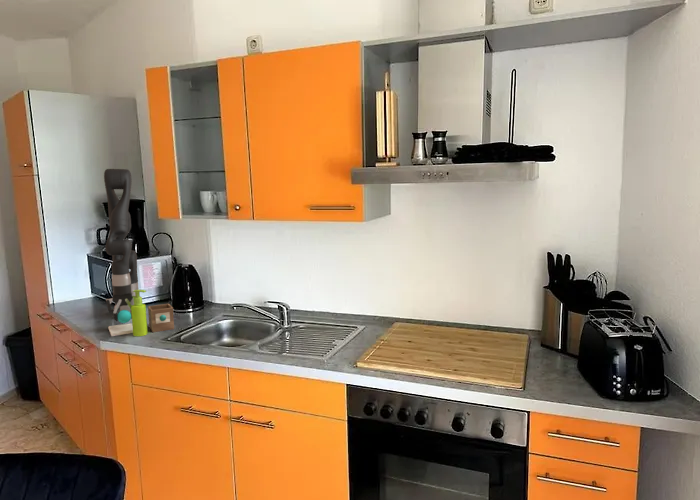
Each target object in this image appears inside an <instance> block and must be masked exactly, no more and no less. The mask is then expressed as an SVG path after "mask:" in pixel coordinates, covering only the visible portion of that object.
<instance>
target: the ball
mask: <svg viewBox="0 0 700 500" xmlns="http://www.w3.org/2000/svg"><path fill="white" fill-rule="evenodd" d="M117 320H118V321H117V322H118V323H121V324H128V323H129V322H130V320H132V319H131V313H130V312H129V311H128V310H121V311H120V310H119V311H118V313H117Z"/></svg>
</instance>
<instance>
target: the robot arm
mask: <svg viewBox="0 0 700 500" xmlns="http://www.w3.org/2000/svg"><path fill="white" fill-rule="evenodd" d="M103 179H104V186H105V193H106V198H107V207H108V208H107V209H108V221H109V233H108V238H107V240H106V243H105V248H104V249H105V252H106V254H107V255H109V256H111V257H112V262H111V283H112V285H111V286H112V298H106V299H105V302H106V307H107V311H108V313H110V314H111V313H112V314H113V321H115V322H119V321H118V319H117V314H118V313H117V311H118V309H119V312H120V311H121V310H128V311H129V312H130V313H131V306H132V305H134V297H136V295H135V292H133V291H134V290H140V289H139V276H138V255H137V252H136V251H135V250H133V243H132V241H130V239H127V238H126V237H127V235H129V233H130V231H131V230H132V218H131V217H132V216H131V214H130V212H129V207H130V198H131V192H132V191H131V190H132V174H131V171H130V170H129V169H128V168H125V169H124V168H106V169H105V170H104V172H103ZM115 190H122V195H121V197H120V199H119V197H118V196H117V193H116V191H115ZM112 302H113V303H115V305H114V307H113V309H112V307H111V304H112ZM130 320H132V313H131V319H130Z"/></svg>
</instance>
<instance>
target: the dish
mask: <svg viewBox="0 0 700 500" xmlns="http://www.w3.org/2000/svg"><path fill="white" fill-rule="evenodd" d="M108 330H109V331H108V332H109V334H110V336H111V337H114V336H122V335H129V334H133V326H132V322H130V323H129V322H128V323H121V324H117V325H116V324H115V325H109V326H108Z"/></svg>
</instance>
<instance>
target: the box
mask: <svg viewBox="0 0 700 500" xmlns="http://www.w3.org/2000/svg"><path fill="white" fill-rule="evenodd" d="M147 311H148V328H149V329H150V331H151V332H152V333H158V332H159V333H160V332H164V331H165V332H166V331H171V330H174V329H175V322H174V321H175V318H174V307H173V306H172V305H171V304H170V303H164V304H163V303H162V304H156V305H148V306H147Z"/></svg>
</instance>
